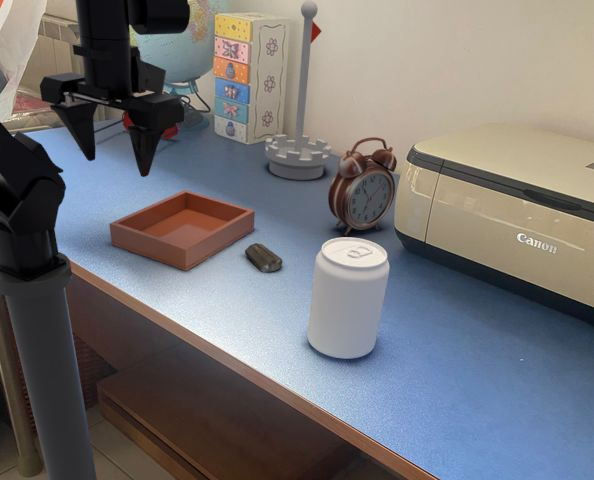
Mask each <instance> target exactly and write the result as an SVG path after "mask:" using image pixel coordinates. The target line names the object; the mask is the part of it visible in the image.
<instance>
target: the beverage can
mask: <svg viewBox="0 0 594 480" xmlns="http://www.w3.org/2000/svg"><path fill="white" fill-rule="evenodd" d="M389 275H390V263H389V260H388V252H387V251H386V249H385V248H384V247H382V246H381V245H379V244H378V243H376V242H374V241H371V240H368V239H365V238H359V237H351V236H350V237H349V236H348V237H347V236H345V237H344V236H343V237H335V238H332V239H329V240H326V241H325V242H324V243H323V244H322V246H321V249H320V250H319V251H318V253H317V254H316V256H315V263H314V271H313V281H312V289H311V298H310V307H309V317H308V324H307V325H308V326H307V327H308V328H307V334H306V336H307V340H308V342H309V344H310V345H311V346H312V347H313V348H314V350H316V351H318V352H320V353H321V354H323V355H325V356H328V357H331V358H335V359H336V358H337V359H346V360H347V359H349V360H350V359H357V358H361V357H364V356H366V355H368V354H369V353H371V352H372V351H373V350H374V348H375V346H376V342H377V336H378V331H379V327H380V323H381V322H380V321H381V316H382V311H383V305H384V300H385V295H386V291H387V285H388V280H389Z"/></svg>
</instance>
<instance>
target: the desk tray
mask: <svg viewBox="0 0 594 480" xmlns="http://www.w3.org/2000/svg"><path fill="white" fill-rule="evenodd" d="M255 214H256V212H255V210H254V209H251V208H247V207H244V206H241V205H237V204H234V203H231V202H228V201H224V200H220V199H217V198H214V197H211V196H207V195H204V194H201V193H197V192H194V191H191V190H187V189H184V190H181V191H179V192H177V193H175V194H172V195H170V196H168V197H166V198H164V199H161V200H159V201H156V202H154V203H152V204H150V205H147V206H145V207H143V208H141V209H138V210H136V211H134V212H132V213H129V214H127V215H125V216H123V217H120V218H119V219H116V220H113V221H111V222H109V224H108V225H109V234H110V244H111V245H112V246H116V247H117V248H121V249H123V250H126V251H129V252H130V253H131V252H132V253H134V254H137V255H140V256H142V257H146V258H148V259H150V260H153V261H157V262H160V263H162V264H165V265H168V266H170V267H173V268H175V269H179V270H182V271H185V272H188V271H189V270H191V269H192V268H194V267H196V266H198V265H199V264H201V263H203V262H204V261H206V260H208V259H209V258H210V257H212V256H214V255H215V254H217V253H219V252H220V251H222V250H223V249H226V248H227V247H228V246H230V245H231V244H234V243H235V242H237V241H238V240H240V239H242V238H243V237H245V236H247V235H249V234H250V233H251V232H253V231H255Z"/></svg>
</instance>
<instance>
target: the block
mask: <svg viewBox="0 0 594 480" xmlns="http://www.w3.org/2000/svg"><path fill="white" fill-rule="evenodd" d="M244 255H245V256H247V258H248V259H249V260H250V261H251V262H252V264H254V265H255V267H256V268H257V269H258V270H259V271H260V272H263V273H270V272H274V271H277V270H279V269H280V268H281V267H282V265H283V263H284V262H283V259H282V257H280V256H279V255H277V254H276V253H274V252H273V251H272V250H271V249H269V248H268V247H266V245H264V244H263V243H257V242H255V243H253V244H250V245H249V246H248V247H247V248H246V249H244Z"/></svg>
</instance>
